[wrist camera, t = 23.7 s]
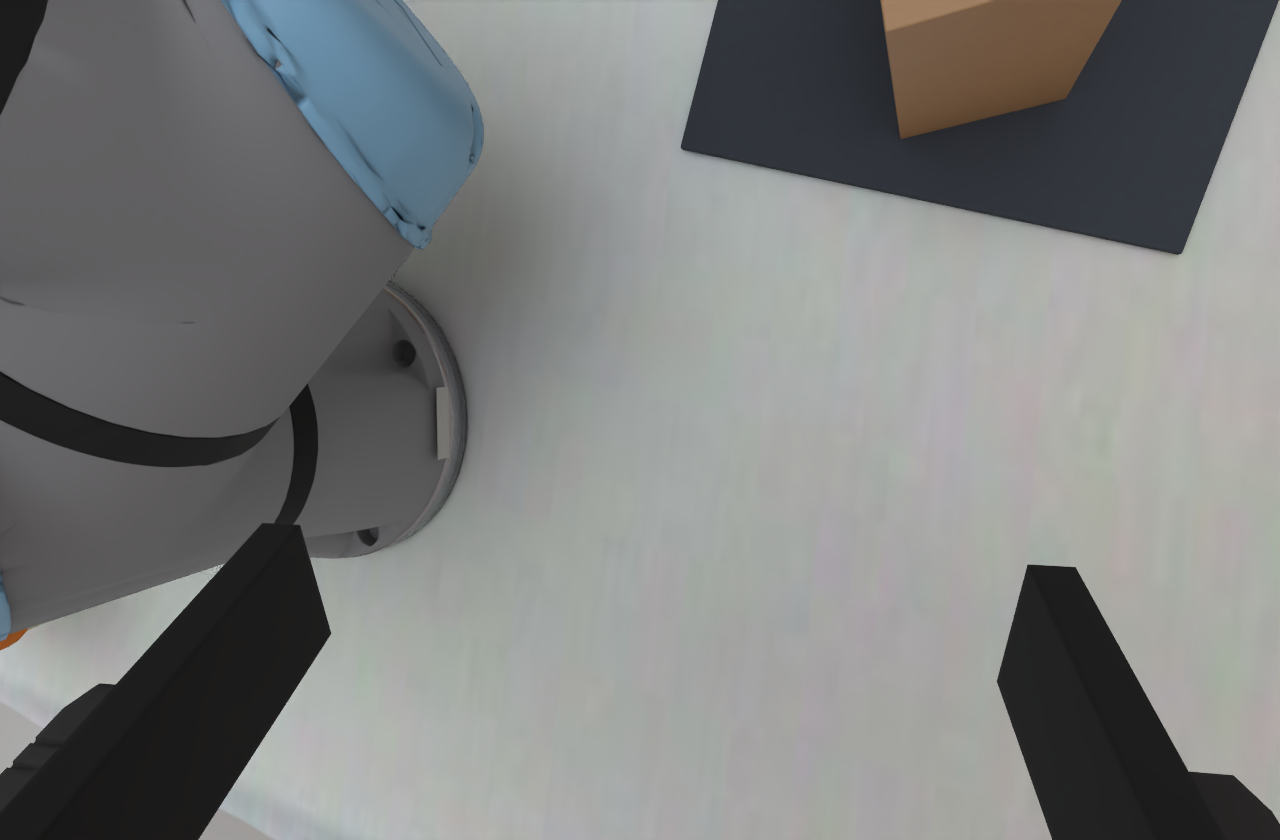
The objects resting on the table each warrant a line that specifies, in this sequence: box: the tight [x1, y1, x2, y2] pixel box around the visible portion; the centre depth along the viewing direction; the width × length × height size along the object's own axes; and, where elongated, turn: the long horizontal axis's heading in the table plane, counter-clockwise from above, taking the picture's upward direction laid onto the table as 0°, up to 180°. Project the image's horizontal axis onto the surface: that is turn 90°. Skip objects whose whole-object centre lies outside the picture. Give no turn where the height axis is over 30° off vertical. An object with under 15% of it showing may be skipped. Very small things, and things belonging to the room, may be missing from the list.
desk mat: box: [681, 0, 1279, 254], centre depth 31 cm, size 20×14×1 cm
